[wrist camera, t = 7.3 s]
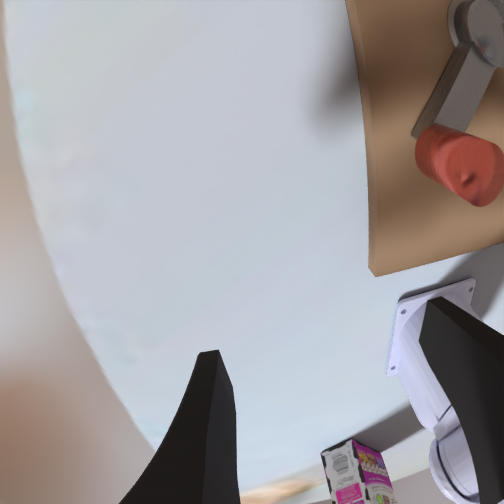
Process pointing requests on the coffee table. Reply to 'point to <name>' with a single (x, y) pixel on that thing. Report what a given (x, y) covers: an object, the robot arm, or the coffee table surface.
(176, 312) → the coffee table surface
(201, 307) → the coffee table surface
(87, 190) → the coffee table surface
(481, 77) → the lever
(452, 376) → the robot arm
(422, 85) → the board
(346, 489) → the candy bar box
